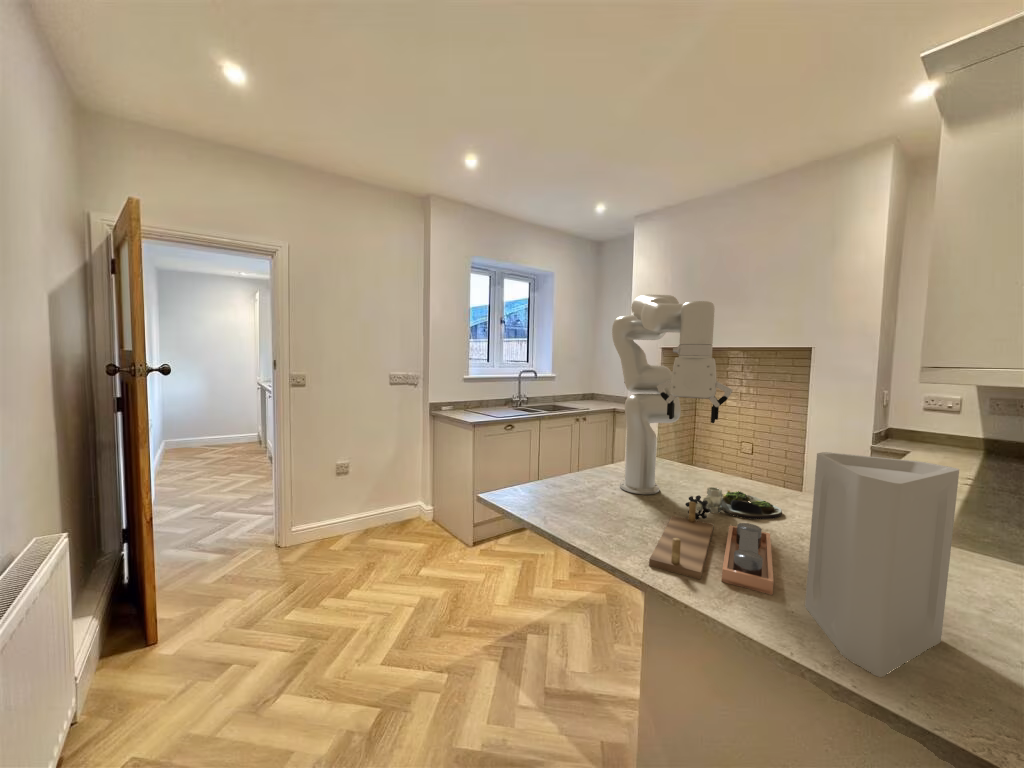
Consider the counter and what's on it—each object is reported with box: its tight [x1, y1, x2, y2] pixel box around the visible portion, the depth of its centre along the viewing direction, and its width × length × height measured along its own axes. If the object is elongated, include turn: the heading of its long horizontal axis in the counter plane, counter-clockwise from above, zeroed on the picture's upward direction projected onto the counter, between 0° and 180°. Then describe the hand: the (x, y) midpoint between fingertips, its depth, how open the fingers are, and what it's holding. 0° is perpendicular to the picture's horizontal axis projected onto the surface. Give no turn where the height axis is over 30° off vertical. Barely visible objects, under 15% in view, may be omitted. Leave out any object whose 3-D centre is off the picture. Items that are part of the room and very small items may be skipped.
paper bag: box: [804, 451, 960, 678], centre depth 68 cm, size 19×15×28 cm
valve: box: [684, 486, 723, 520], centre depth 117 cm, size 7×7×12 cm
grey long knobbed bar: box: [733, 522, 763, 577], centre depth 91 cm, size 21×5×4 cm, turn 150°
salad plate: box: [720, 489, 783, 520], centre depth 124 cm, size 19×18×5 cm
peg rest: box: [648, 501, 714, 580], centre depth 97 cm, size 28×10×6 cm, turn 150°
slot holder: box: [721, 525, 775, 596], centre depth 91 cm, size 25×9×3 cm, turn 150°
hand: (691, 420), depth 104 cm, fingers open, 9 cm apart
